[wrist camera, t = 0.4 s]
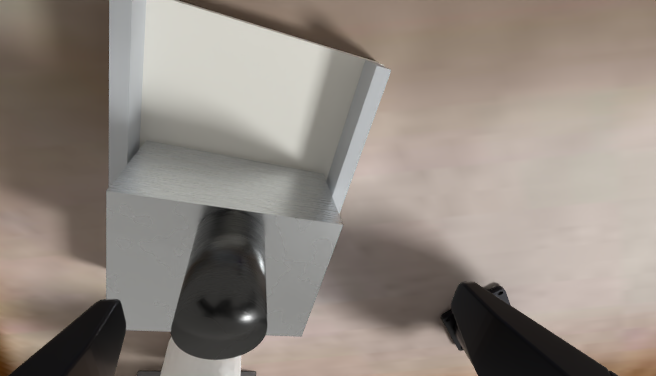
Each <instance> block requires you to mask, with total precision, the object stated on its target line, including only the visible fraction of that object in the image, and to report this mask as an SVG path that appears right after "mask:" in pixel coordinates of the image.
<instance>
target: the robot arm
mask: <svg viewBox="0 0 656 376" xmlns="http://www.w3.org/2000/svg"><path fill="white" fill-rule="evenodd" d="M451 308H452V310H451V311H449V312H447V313H445V314H443V315H442V316H441V319H442V321H443V323H444V324H445V326H446V328H447V330H448V332H449V333H450V335H451V337H452V339H453V341H454V342H455V344H456V346H457V348H458V350H460V351H461V350H464V351H465V353H466V354H467V356H468V358H469V359H470V361H471V363H472V365H473V366H474V368H475V370H476V372H477V374H478V376H618V375H616V374H615V373H613V372H612V371H608V369H607V368H606V367H604V366H602V365H601V364H599V363H598V362H596V361H595V360H593V359H592V358H590V357H589V356H587V355H586V354H584V353H583V352H581V351H579V350H578V349H576V348H575V347H573V346H572V345H570V344H569V343H567V342H566V341H564V340H563V339H561V338H560V337H558V336H556V335H555V334H553V333H552V332H550V331H549V330H547V329H546V328H544V327H543V326H541V325H540V324H538V323H537V322H535V321H533V320H532V319H530V318H529V317H527V316H526V315H524V314H523V313H521V312H520V311H518V310H517V309H515V308H514V307H512V306H510V303H509V300H508V297H507V294H506V291H505V290H504V288H503V287H501V286H498V287H496V288H494V289H492V290H490V291H487V290H486V289H484V288H483V287H481V286H480V285H478V284H477V283H475V282H461V283H460V284H459V285H458V287H457V289H456V292H455V294H454V297H453V299H452V303H451ZM125 332H126V320H125V316H124V312H123V308H122V304H121V301H120V300H119V299H104V300H100V301H98V302H96V303H95V304H94V305H93V306H91V307H90V308H89V309H88V310H87V311H85V312H84V313H83V314H82V315H81V316H79V317H78V318H77V319H76V320H75V321H73V322H72V323H71V324H70V325H69V326H67V327H66V328H65V329H64V330H63V331H61V332H60V333H59V334H58V335H57V336H55V337H54V338H53V339H52V340H51V341H49V342H48V343H47V344H46V345H45V346H43V347H42V348H41V349H40V350H39V351H37V352H36V353H35V354H34V355H33V356H31V357H30V358H29V359H28V360H27V361H25V362H24V363H23V364H22V365H21V366H19V367H18V368H17V369H16V370H15V371H13V372H12V373H11V374H10V375H9V376H114V374H115V371H116V367H117V363H118V359H119V355H120V351H121V348H122V344H123V340H124V336H125Z"/></svg>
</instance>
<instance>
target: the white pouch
mask: <svg viewBox="0 0 656 376" xmlns="http://www.w3.org/2000/svg"><path fill="white" fill-rule="evenodd" d="M240 375H241V355H240V356H237V357H234V358H229V359H222V360H208V359H202V358H197V357H194V356H191V355H189V354H187V353H185V352H184V351H182V350H181V349H180V348H179V347H178V346H177V345H176V344H175V343H174V341H173V339H172V336H171V338H170V340H169V343H168V347H167V350H166V355H165V359H164V363H163V367H162V370H161V374H160V376H240Z"/></svg>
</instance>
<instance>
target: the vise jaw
mask: <svg viewBox="0 0 656 376" xmlns="http://www.w3.org/2000/svg"><path fill="white" fill-rule="evenodd" d="M342 227H343V223H342V220H341V218H340V215H339V213H338V210H337V207H336V205H335V202H334V199H333V197H332V194H331V192H330V189H329V186H328V184H327V181H326V178H325V176H324V174H322V173H317V172H312V171H307V170H301V169H296V168H291V167H285V166H280V165H275V164H269V163H264V162H259V161H254V160H248V159H243V158H238V157H232V156H227V155H222V154H217V153H211V152H206V151H201V150H195V149H190V148H185V147H180V146H174V145H169V144H164V143H158V142H153V141H148V140H146V142H145V143H144V144H143V145H142V147H141V148H140V149H139V150H138V152H137V153H136V154H135V155H134V157H133V158H132V159H131V160H130V162H129V163H128V164H127V165H126V167H125V168H124V169H123V170H122V172H121V173H120V174H119V175H118V177H117V178H116V179H115V180H114V182H113V183H112V184H111V185H110V187H109V188H108V189H107V190H106V299H119V300H120V301H121V304H122V308H123V312H124V316H125V320H126V330H136V331H164V332H171V336H172V339H173V341H174V343H175V344H176V345H177V346H178V347H179V348H180V349H181V350H182V351H184V352H185V353H187V354H189V355H191V356H194V357H197V358H202V359H208V360H222V359H229V358H234V357H237V356H240V355H243V354H245V353H247V352H249V351H251V350H252V349H254V348H255V347H256V346H257V345H258V344H260V342H261V341H262V340H263V338H264V337H265V335H273V336H300V337H302V334H303V331H304V329H305V326H306V323H307V321H308V318H309V315H310V313H311V310H312V307H313V305H314V302H315V299H316V296H317V294H318V291H319V288H320V286H321V283H322V280H323V278H324V275H325V272H326V270H327V267H328V264H329V262H330V259H331V256H332V254H333V251H334V248H335V246H336V243H337V240H338V237H339V235H340V232H341V229H342Z"/></svg>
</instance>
